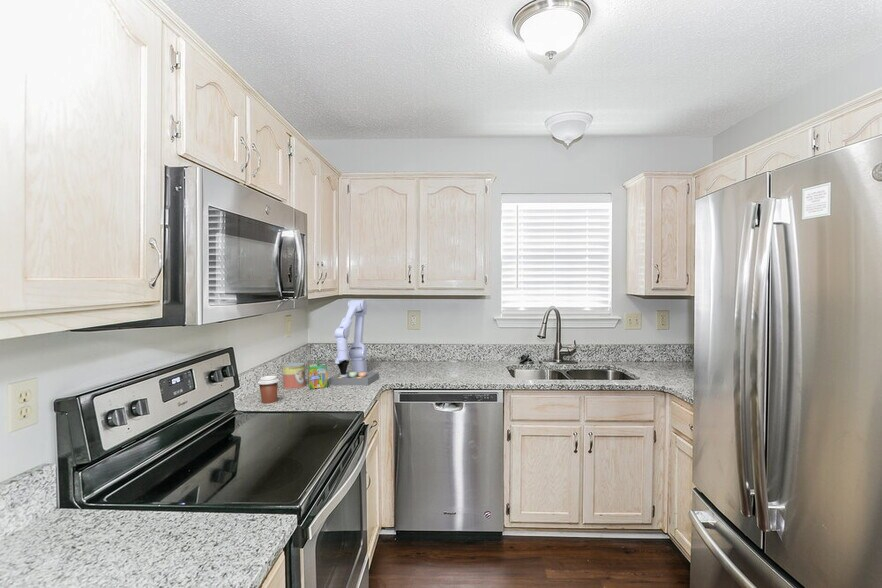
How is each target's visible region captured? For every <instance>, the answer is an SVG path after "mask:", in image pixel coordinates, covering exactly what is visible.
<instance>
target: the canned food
mask: <svg viewBox="0 0 882 588" xmlns="http://www.w3.org/2000/svg"><path fill="white" fill-rule="evenodd" d="M305 365H306V364H305V362H301V361H300V362H289V363H284V364H282V365H281V366H282V380H283V382H282V383H283V385H282V386H283V389H284V388H285V389H284V390H298V389H297V388H299V389H303V388H305V387H306V386H307V385H306V368H305ZM304 386H305V387H304ZM302 387H303V388H302Z"/></svg>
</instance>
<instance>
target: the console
mask: <svg viewBox="0 0 882 588" xmlns="http://www.w3.org/2000/svg"><path fill="white" fill-rule="evenodd" d="M349 372H350V371H346V374H347V377H340V374H341V372H340V373H338V374H335V375H333V376H330V377H329V379H328V384H329V385H331V386H332V385H334V386H335V385H337V386H338V385H339V386H340V385H341V386H342V385H343V386H369V385H370V384H373V383H374V382H376V381H377V380H379V378H380V373H379V372H376V371H367V372H366V377H359V372H357V376H356V377H349ZM329 385H328V386H329Z"/></svg>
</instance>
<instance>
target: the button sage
mask: <svg viewBox="0 0 882 588" xmlns="http://www.w3.org/2000/svg"><path fill="white" fill-rule="evenodd" d="M348 372H349V377H356V376H357V372H352V371H348Z"/></svg>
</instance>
